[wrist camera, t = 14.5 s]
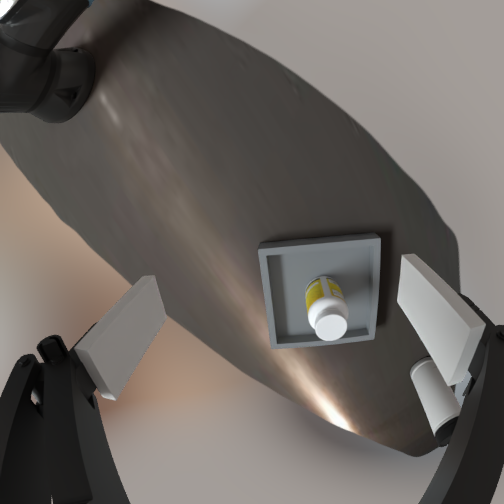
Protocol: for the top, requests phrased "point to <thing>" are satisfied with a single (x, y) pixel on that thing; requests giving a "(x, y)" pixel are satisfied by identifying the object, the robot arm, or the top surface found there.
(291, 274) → the tray
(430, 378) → the travel mug
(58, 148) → the top surface
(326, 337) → the supplement bottle
